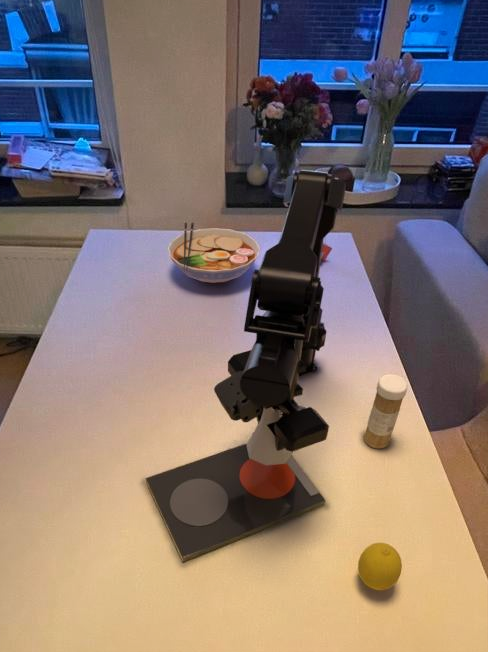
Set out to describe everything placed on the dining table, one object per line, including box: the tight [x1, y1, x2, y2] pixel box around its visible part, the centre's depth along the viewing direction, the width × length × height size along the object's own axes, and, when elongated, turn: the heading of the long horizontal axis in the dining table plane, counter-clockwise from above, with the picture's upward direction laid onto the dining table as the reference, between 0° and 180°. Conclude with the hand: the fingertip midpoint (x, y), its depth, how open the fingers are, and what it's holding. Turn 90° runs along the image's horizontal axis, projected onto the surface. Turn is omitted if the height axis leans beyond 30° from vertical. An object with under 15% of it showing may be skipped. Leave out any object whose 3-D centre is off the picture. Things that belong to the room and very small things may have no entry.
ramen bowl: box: [167, 222, 261, 284], centre depth 132 cm, size 25×23×8 cm
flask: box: [245, 408, 293, 465], centre depth 77 cm, size 7×7×10 cm
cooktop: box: [145, 442, 326, 563], centre depth 84 cm, size 24×16×2 cm, turn 115°
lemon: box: [357, 542, 403, 591], centre depth 70 cm, size 6×6×8 cm
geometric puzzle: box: [321, 235, 333, 262], centre depth 138 cm, size 7×7×8 cm
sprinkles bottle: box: [363, 373, 408, 449], centre depth 88 cm, size 5×5×14 cm
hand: (270, 437), depth 79 cm, fingers closed on flask, 5 cm apart
